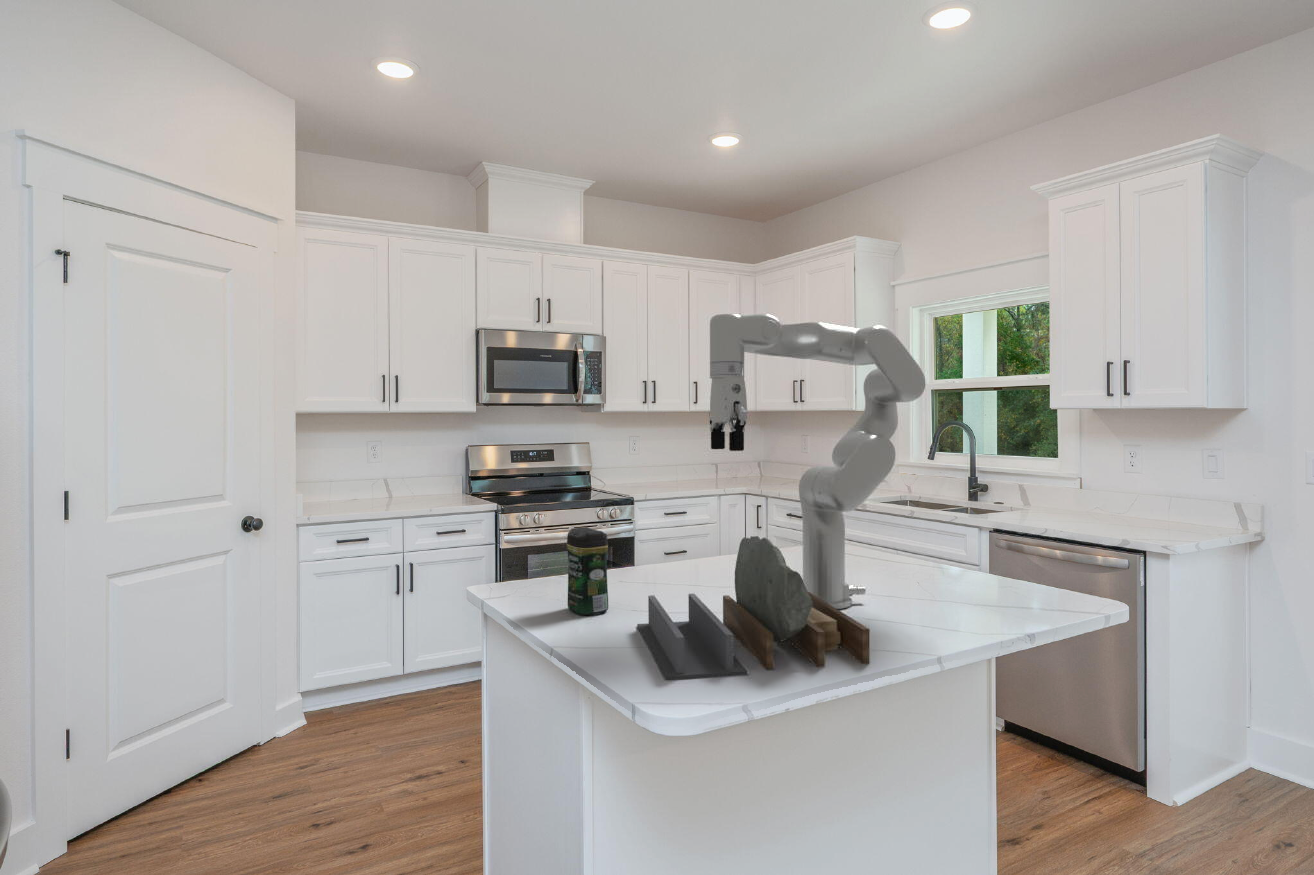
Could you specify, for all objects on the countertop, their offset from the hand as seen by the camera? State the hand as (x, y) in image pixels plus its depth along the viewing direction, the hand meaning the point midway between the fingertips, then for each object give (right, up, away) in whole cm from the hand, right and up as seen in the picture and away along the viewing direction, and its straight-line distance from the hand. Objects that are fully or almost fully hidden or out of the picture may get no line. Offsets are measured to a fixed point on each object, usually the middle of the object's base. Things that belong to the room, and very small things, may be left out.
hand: (727, 449), depth 164 cm
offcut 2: (+14, -35, -21) cm, 43 cm away
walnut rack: (+10, -36, -21) cm, 43 cm away
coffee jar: (-31, -36, +3) cm, 48 cm away
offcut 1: (+14, -33, -20) cm, 41 cm away
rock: (+6, -37, -22) cm, 43 cm away
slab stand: (-10, -37, -24) cm, 45 cm away
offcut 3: (+14, -37, -20) cm, 45 cm away
